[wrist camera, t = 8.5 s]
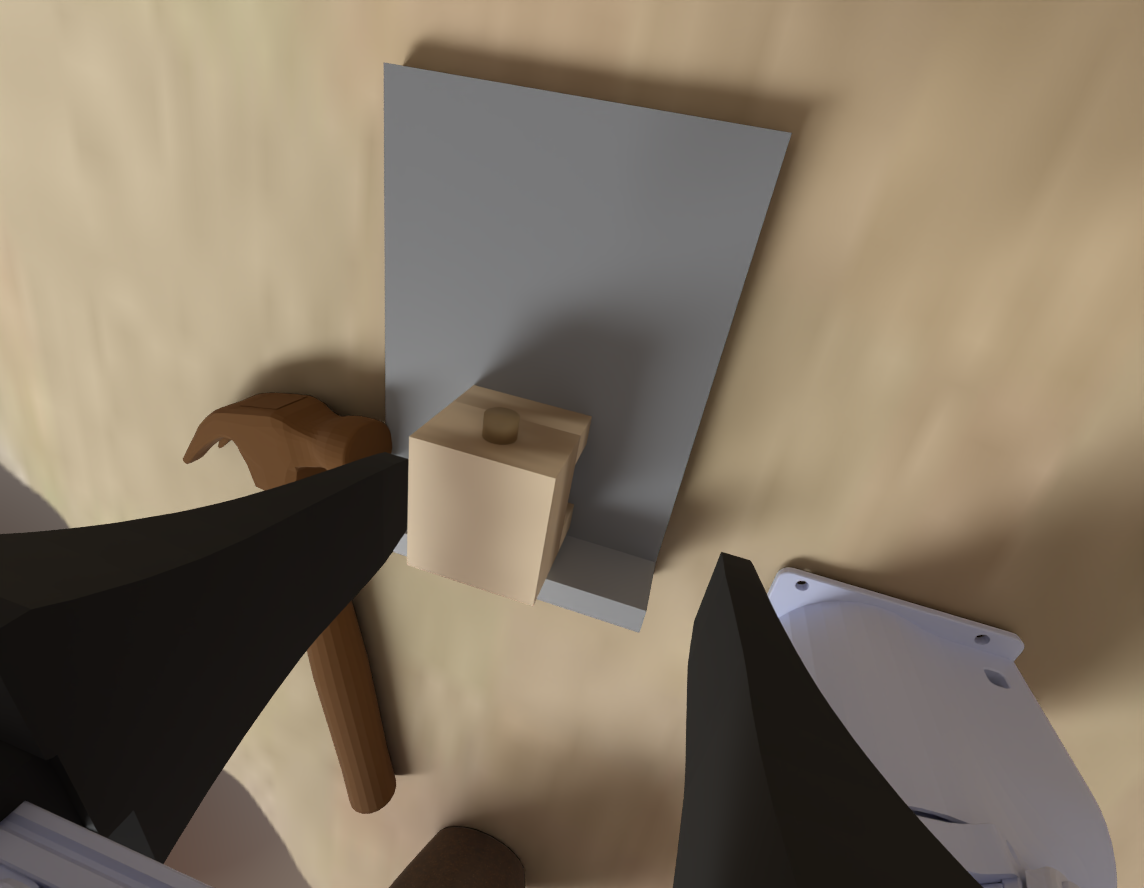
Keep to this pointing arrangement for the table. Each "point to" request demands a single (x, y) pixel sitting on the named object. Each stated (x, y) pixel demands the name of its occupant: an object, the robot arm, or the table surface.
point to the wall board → (569, 289)
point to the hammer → (338, 656)
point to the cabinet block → (493, 491)
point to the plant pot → (463, 863)
